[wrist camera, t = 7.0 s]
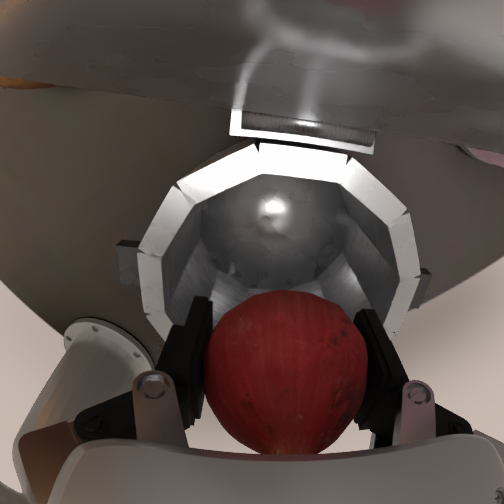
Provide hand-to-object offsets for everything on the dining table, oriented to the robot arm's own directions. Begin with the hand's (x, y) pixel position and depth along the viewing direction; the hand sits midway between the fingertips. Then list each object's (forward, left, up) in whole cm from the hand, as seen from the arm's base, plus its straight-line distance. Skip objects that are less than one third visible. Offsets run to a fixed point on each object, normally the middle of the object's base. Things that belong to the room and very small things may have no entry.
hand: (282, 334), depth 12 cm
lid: (+9, 0, +5) cm, 10 cm away
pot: (0, 0, -13) cm, 13 cm away
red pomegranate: (0, 0, -2) cm, 2 cm away
